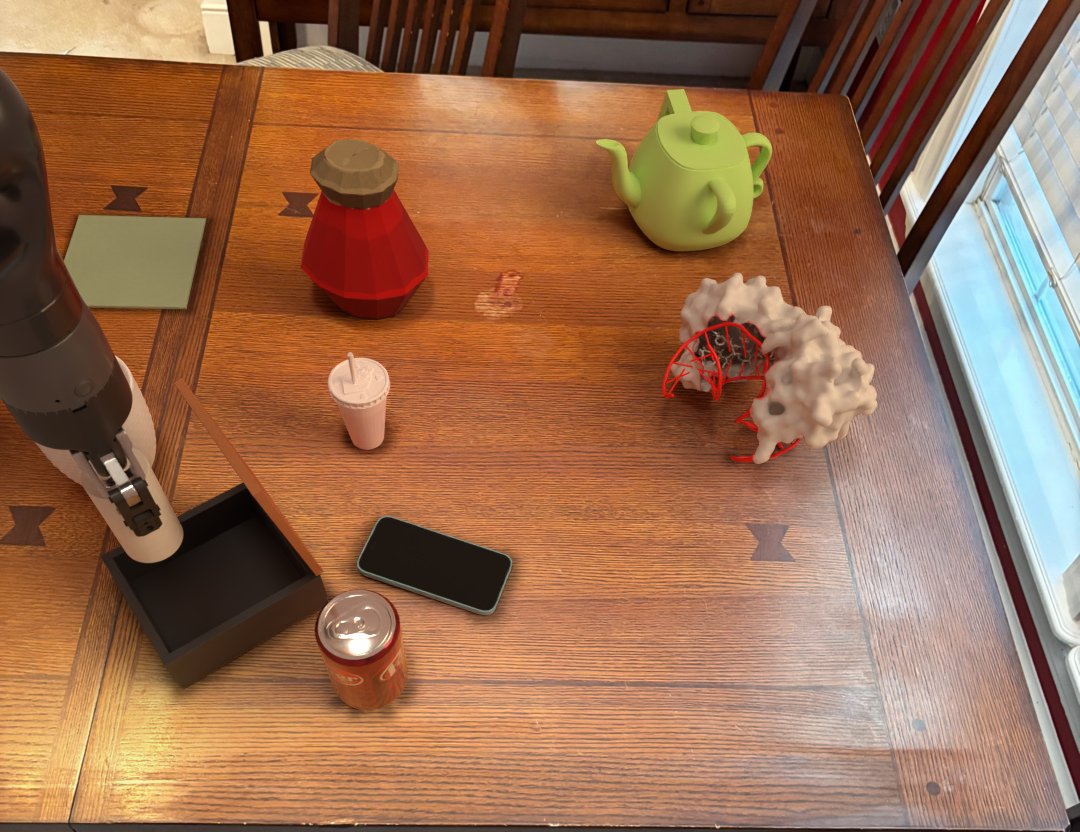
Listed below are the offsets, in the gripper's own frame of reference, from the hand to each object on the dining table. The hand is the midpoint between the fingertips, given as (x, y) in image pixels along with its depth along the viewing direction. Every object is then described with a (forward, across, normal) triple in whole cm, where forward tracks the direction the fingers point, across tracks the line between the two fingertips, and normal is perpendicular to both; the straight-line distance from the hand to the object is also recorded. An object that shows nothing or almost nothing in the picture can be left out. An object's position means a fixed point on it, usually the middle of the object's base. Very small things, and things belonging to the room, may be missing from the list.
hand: (133, 504), depth 73 cm
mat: (+19, -48, +15) cm, 54 cm away
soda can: (+19, +16, +10) cm, 27 cm away
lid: (+4, 0, +9) cm, 10 cm away
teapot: (+19, -18, +79) cm, 83 cm away
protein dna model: (+19, +14, +63) cm, 67 cm away
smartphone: (+19, +10, +22) cm, 31 cm away
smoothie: (+19, -8, +25) cm, 33 cm away
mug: (+19, -19, +1) cm, 27 cm away
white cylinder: (+5, 0, 0) cm, 5 cm away
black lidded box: (+19, 0, +3) cm, 19 cm away
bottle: (+19, -27, +37) cm, 50 cm away
